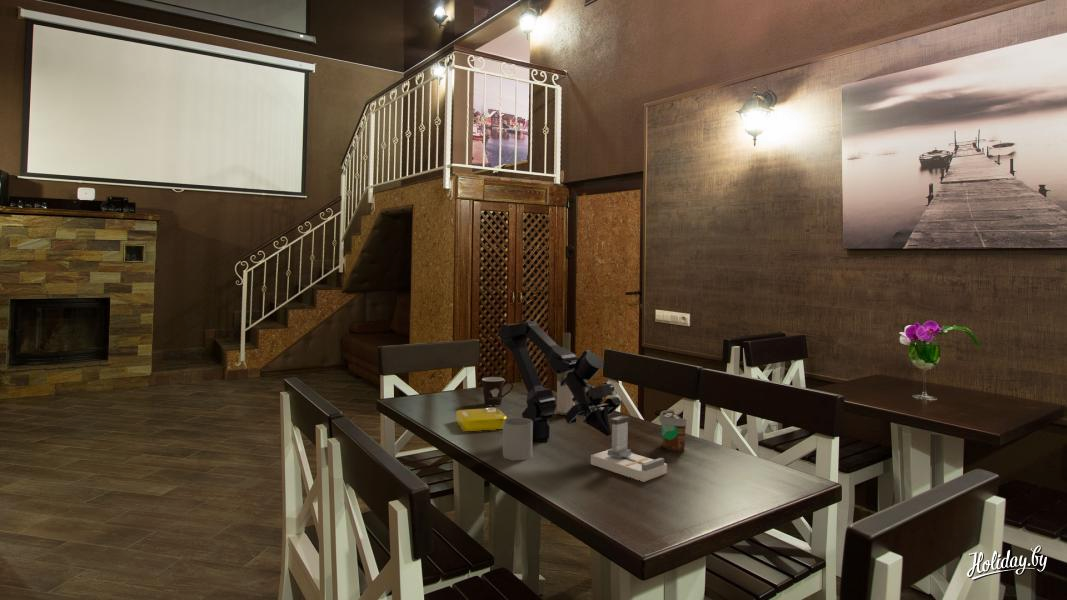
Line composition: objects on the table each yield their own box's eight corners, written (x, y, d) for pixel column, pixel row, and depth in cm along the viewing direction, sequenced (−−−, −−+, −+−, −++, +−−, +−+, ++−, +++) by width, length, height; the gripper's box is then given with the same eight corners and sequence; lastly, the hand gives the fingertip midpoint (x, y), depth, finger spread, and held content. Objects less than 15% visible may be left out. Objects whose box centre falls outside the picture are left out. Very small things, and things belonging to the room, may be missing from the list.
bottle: (563, 411, 223) (564, 331, 222) (579, 413, 219) (580, 332, 218) (552, 414, 218) (553, 333, 216) (568, 417, 214) (569, 334, 212)
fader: (607, 455, 162) (607, 418, 161) (620, 451, 166) (621, 414, 165) (618, 459, 159) (619, 421, 158) (631, 454, 163) (632, 417, 162)
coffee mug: (479, 406, 229) (479, 380, 229) (484, 401, 238) (485, 376, 237) (508, 408, 228) (509, 382, 227) (513, 402, 236) (513, 377, 235)
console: (590, 464, 164) (590, 449, 163) (614, 456, 170) (614, 442, 170) (643, 481, 150) (643, 466, 150) (666, 473, 157) (667, 458, 157)
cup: (510, 462, 165) (510, 426, 164) (498, 453, 172) (498, 419, 171) (537, 457, 169) (537, 423, 168) (524, 449, 176) (524, 416, 175)
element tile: (455, 422, 208) (455, 408, 208) (496, 419, 212) (497, 406, 212) (463, 433, 194) (463, 419, 193) (508, 430, 198) (508, 416, 198)
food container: (653, 441, 186) (654, 409, 185) (672, 440, 186) (673, 409, 186) (665, 453, 174) (666, 419, 173) (685, 453, 174) (686, 419, 174)
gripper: (573, 376, 162) (603, 425, 154) (617, 369, 174) (647, 413, 166) (552, 400, 168) (580, 447, 160) (596, 391, 180) (624, 435, 173)
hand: (609, 435), depth 165 cm, fingers closed
